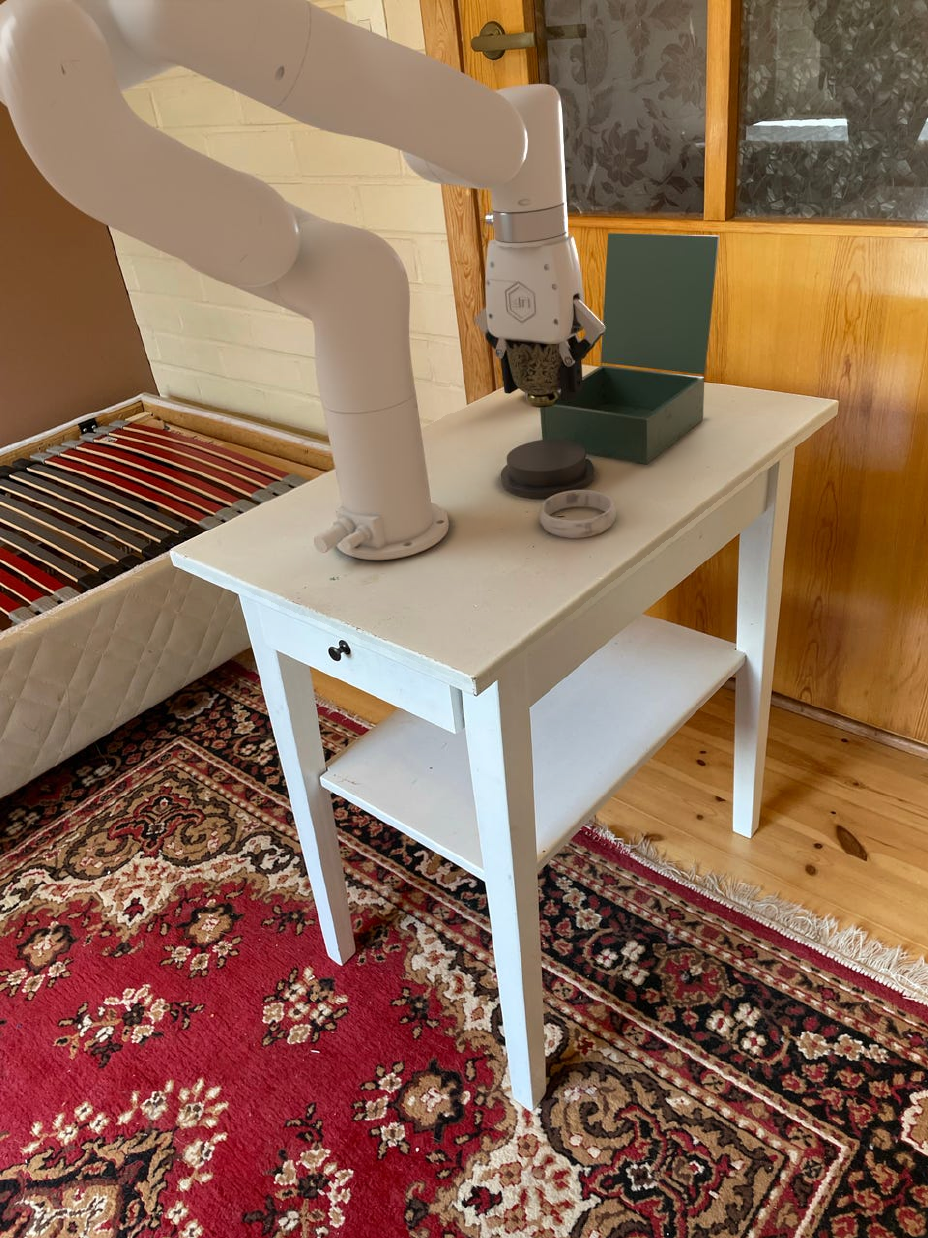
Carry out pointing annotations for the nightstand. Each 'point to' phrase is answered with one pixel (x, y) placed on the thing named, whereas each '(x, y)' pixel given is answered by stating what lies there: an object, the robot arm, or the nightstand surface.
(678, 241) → the tin lid
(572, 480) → the stand
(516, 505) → the nightstand surface
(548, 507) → the ring
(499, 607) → the nightstand surface
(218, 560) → the nightstand surface
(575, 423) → the tin
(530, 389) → the cup
